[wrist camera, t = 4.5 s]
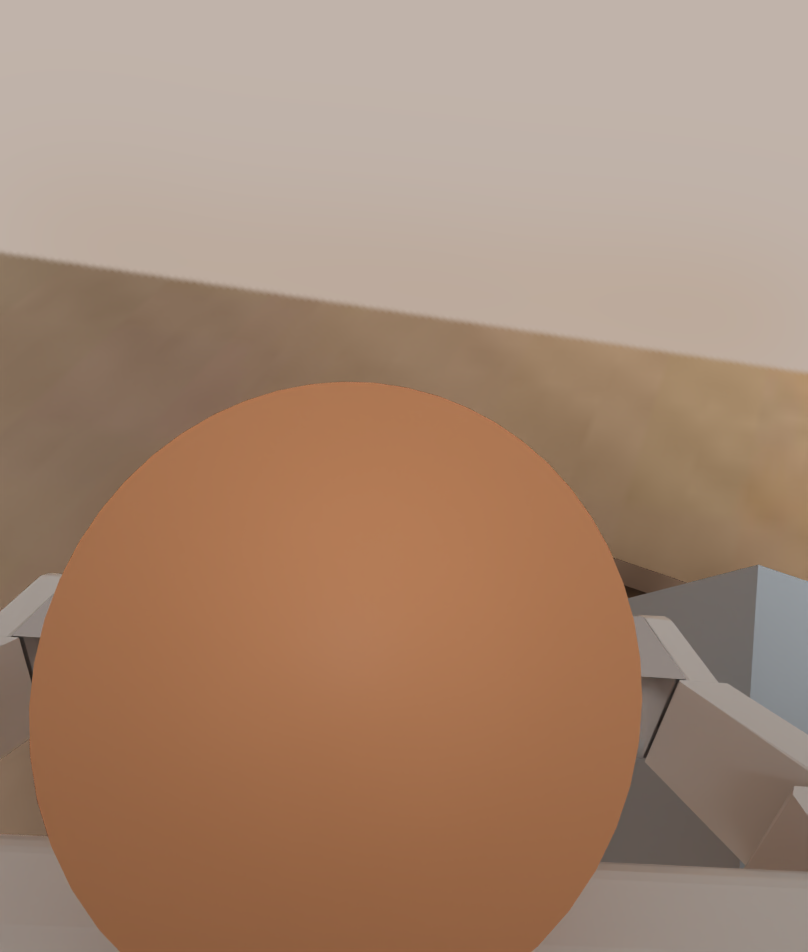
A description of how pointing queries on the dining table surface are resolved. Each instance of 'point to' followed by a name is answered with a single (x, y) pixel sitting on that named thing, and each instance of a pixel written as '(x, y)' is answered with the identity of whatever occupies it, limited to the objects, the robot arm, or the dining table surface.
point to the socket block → (730, 661)
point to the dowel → (336, 686)
